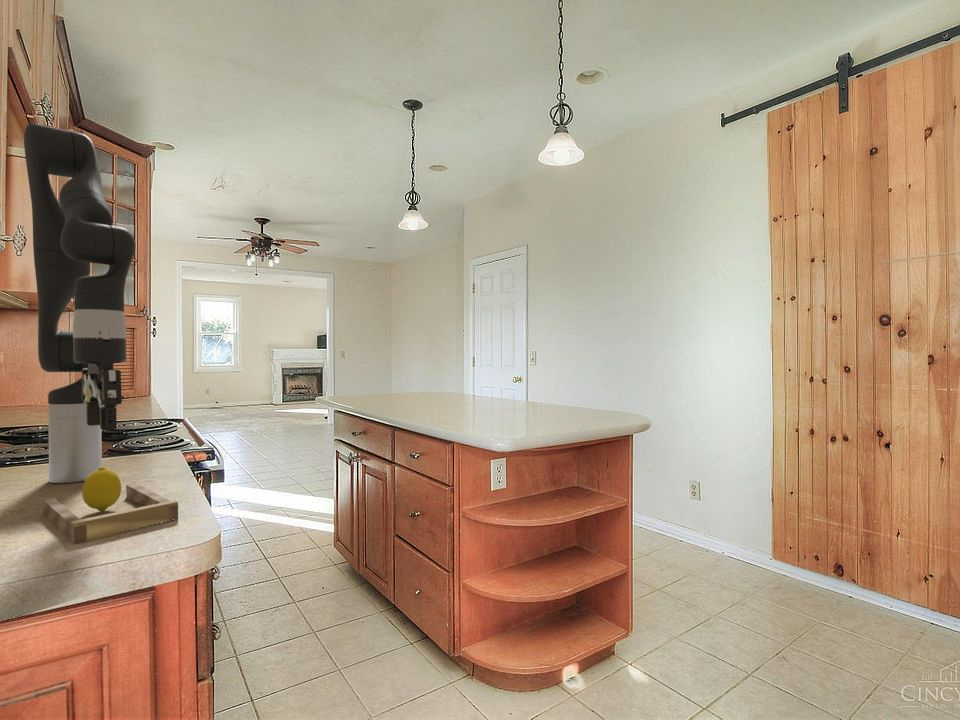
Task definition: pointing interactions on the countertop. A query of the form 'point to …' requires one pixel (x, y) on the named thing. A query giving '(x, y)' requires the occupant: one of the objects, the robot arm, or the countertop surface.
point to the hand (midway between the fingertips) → (101, 427)
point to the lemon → (101, 489)
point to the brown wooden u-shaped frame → (112, 516)
